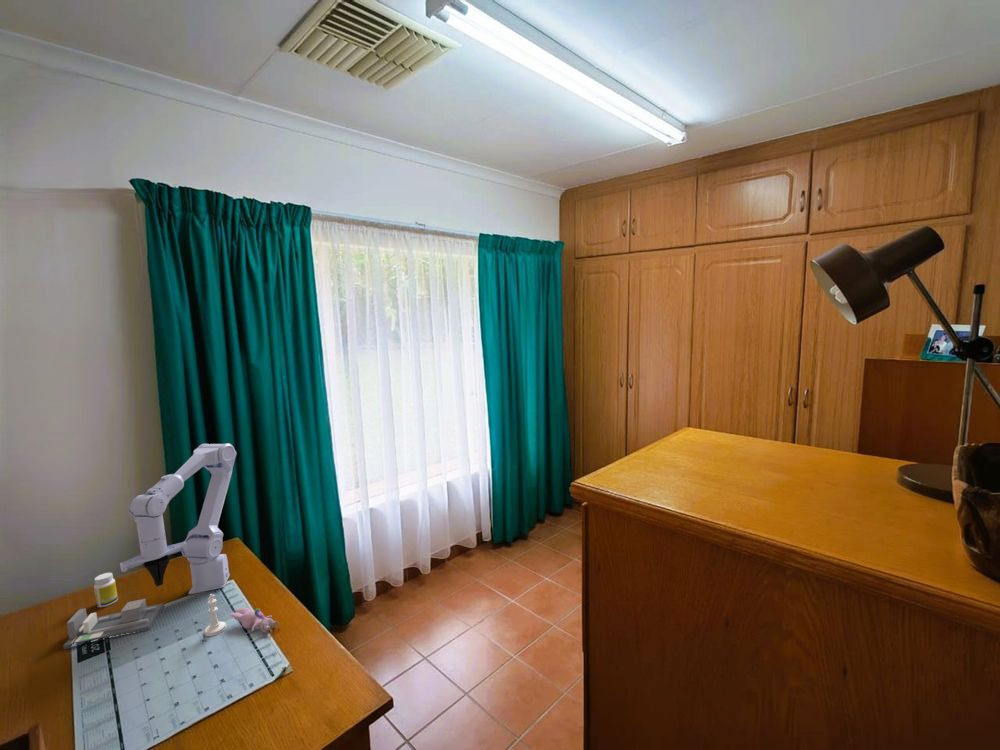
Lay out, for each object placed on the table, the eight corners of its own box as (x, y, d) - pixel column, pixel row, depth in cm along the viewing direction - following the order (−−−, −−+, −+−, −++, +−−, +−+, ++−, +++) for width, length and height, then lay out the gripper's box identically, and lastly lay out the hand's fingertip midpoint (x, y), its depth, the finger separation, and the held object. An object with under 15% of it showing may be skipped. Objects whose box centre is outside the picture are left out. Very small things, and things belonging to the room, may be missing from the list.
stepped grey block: (147, 611, 126) (145, 598, 125) (140, 620, 122) (138, 607, 121) (114, 618, 123) (112, 605, 123) (106, 628, 119) (104, 614, 119)
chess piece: (230, 626, 119) (226, 590, 118) (212, 638, 115) (207, 601, 114) (218, 621, 121) (214, 587, 120) (200, 633, 117) (195, 597, 116)
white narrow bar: (97, 621, 122) (96, 612, 122) (83, 638, 115) (82, 628, 115) (92, 623, 122) (90, 613, 121) (78, 639, 115) (76, 629, 115)
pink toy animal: (285, 629, 119) (242, 610, 124) (285, 608, 118) (243, 591, 123) (265, 644, 114) (222, 625, 118) (266, 623, 113) (222, 604, 117)
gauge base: (164, 606, 130) (161, 588, 129) (149, 629, 120) (146, 610, 119) (86, 623, 124) (83, 604, 123) (63, 649, 114) (60, 628, 113)
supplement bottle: (122, 598, 135) (118, 571, 134) (107, 608, 130) (103, 580, 130) (107, 598, 136) (103, 571, 135) (92, 607, 131) (88, 580, 130)
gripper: (179, 524, 131) (185, 568, 132) (115, 544, 120) (122, 591, 121) (186, 530, 126) (192, 576, 128) (120, 551, 115) (128, 601, 117)
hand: (158, 584), depth 124 cm, fingers closed
